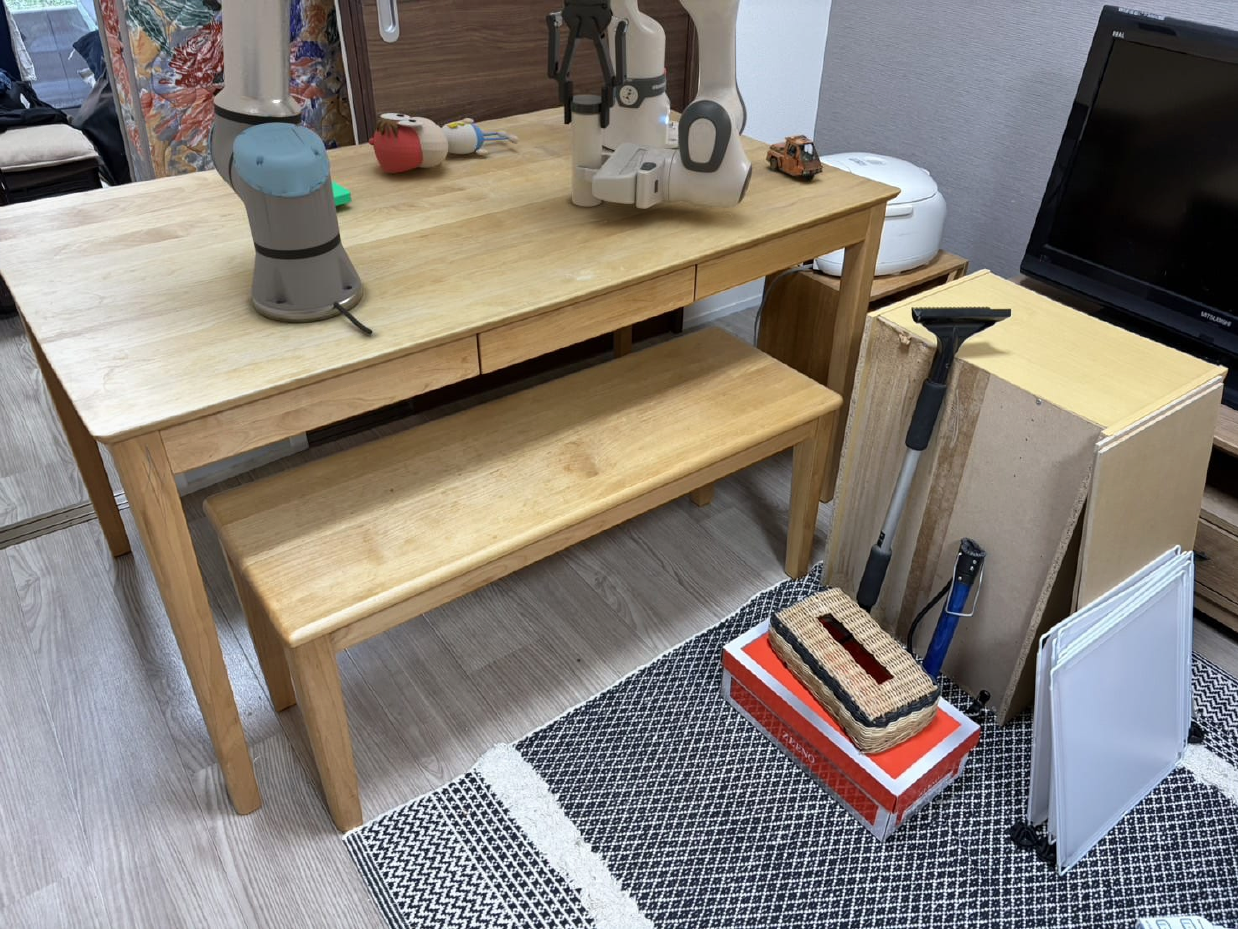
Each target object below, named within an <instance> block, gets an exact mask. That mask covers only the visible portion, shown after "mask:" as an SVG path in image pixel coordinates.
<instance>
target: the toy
mask: <svg viewBox="0 0 1238 929" xmlns="http://www.w3.org/2000/svg"><path fill="white" fill-rule="evenodd" d="M474 123H475V120H474V119H473V118H469V117H465V118H463V119H461V120H456V121H452V122H448V123H446V124H444V125H443V126H442V127H440V125H438V123H437V122H436V121H434V120H432V119H429V118H426V117H423V116H414V117H413V116H410V115H407V114H403V113H398V112H397V113H396V112H394V113H393V112H387V113H383V114H381V115H380V118H379V119H378V120H377V121H376V125H375V128H376V129H375V131H374V135H373V137H370V138H369V140H368V144H369V145H370V146H373V151H374V154H375V157H376V160H377V162H378V163H379V165H380V167H381V169H382V170H383V172H385V173H389V174H398V173H402V172H407V171H410V170H413V169H416V168H422V169H430V168H434V167H437V166H439V165H441V163H442V162H443V161H444V160H446V158H447V155H448V153H451V154H456V155H466V154H471V153H473V152H475V153H476V154H477V155H479V156H484V155H487V154H488V151H487V150H486V149H484V148H482V147H483V145H484V142H488V141H490V142H492V141H493V142H494V141H503V140H508V142H509V143H511V144H514V145H517V144H519V141H520V140H519V137H518V136H517V135H515V134H509V133H507V132H506V131H505V130H497V131H496V132H485V133H484V132H483V131H482V130H481V129H480V127H479V126H476V125H475V124H474ZM489 136H490V137H489ZM491 136H497V137H491Z"/></svg>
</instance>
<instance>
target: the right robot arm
mask: <svg viewBox="0 0 1238 929" xmlns="http://www.w3.org/2000/svg"><path fill="white" fill-rule="evenodd" d="M678 1H679V3H680V5H682V7H683V8H684V10H685V11H687V13H688V14H689V15H690V18H691V19H692V21H693V23H694V25H695V28H696V34H697V38H698V65H699V66H698V67H699V86H698V90H697V93H696V95H695V98H694V100H693V101H692V102H691V103H689V105H687V106H686V108H684V110H683V111H682V113H681V114H680V117H679V120H678V121H675V120H672V119H670V118H671V100H670V99H669V97H668V95H667V93H666V90H667V77H666V75H667V68H666V67H665V59H666V58H665V57H666V56H665V55H666V54H665V53H666V34H665V30H664V28H663V27H662V25H661V24H660V23H659V22H658V21H657V20H655V19H654V18H652V17H650V16H648V15H647V14H645V13H643V12H642V11H640V10H639V6H638V0H611V10H612V12H613V15H614V16H616V17H619V18H621V19H624V18H627V19H628V20H629V25H628V28H627V32H626V62H627V80H626V81H625V82H624V83H623V84H622V85H621V86H616V95H615V105H614V106H613V107H612V108H610V121H609V125H608V126H607V127H606V128H605V129H603V128H602V147H605V148H607V149H609V150H612V151H613V152H605V153H603V152H602V167H601V168H600V169H594V170H592V169H588V168H587V166H578V167H577V168H576V170H575V177H576V178H579V179H585V180H587V181H589V182H591V183H592V195H593V196H594V197H596V198H598V199H600V200H601V201H605V202H610V203H611V202H612V203H616V204H617V203H618V204H624V205H633V204H635V207H636V208H638V209H649V208H650V207H652V206H654V205H656V204H661V203H663V202H664V203H672V204H673V203H674V204H675V203H680V202H681V203H688V204H690V205H693V206H695V207H696V206H697V207H706V208H719V209H720V208H721V209H723V208H733V207H736V206H737V205H739V204H740V203H741V202H742V201H743V199H744V198H745V196H746V193H747V191H748V188H749V185H750V182H751V179H752V176H753V175H752V174H753V164H752V163H751V162H750V159H749V158H748V156H747V154H746V152H745V149H744V147H743V144H742V140H741V136H742V134H743V133H744V131H745V128H746V125H747V120H748V113H747V108H746V104H745V102H744V99H743V96H742V94H741V92H740V88H739V85H738V80H737V35H736V34H737V20H738V13H739V7H740V1H741V0H678ZM606 30H607V34H608V35H607V36H608V50H609V54H610V57H611V61H612V65H613V69H614V73H615V77H616V62H615V32H614V31H613V25H612V24H611V23H610V24H609V26H608V27H607V29H606ZM677 148H679V149H677Z"/></svg>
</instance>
